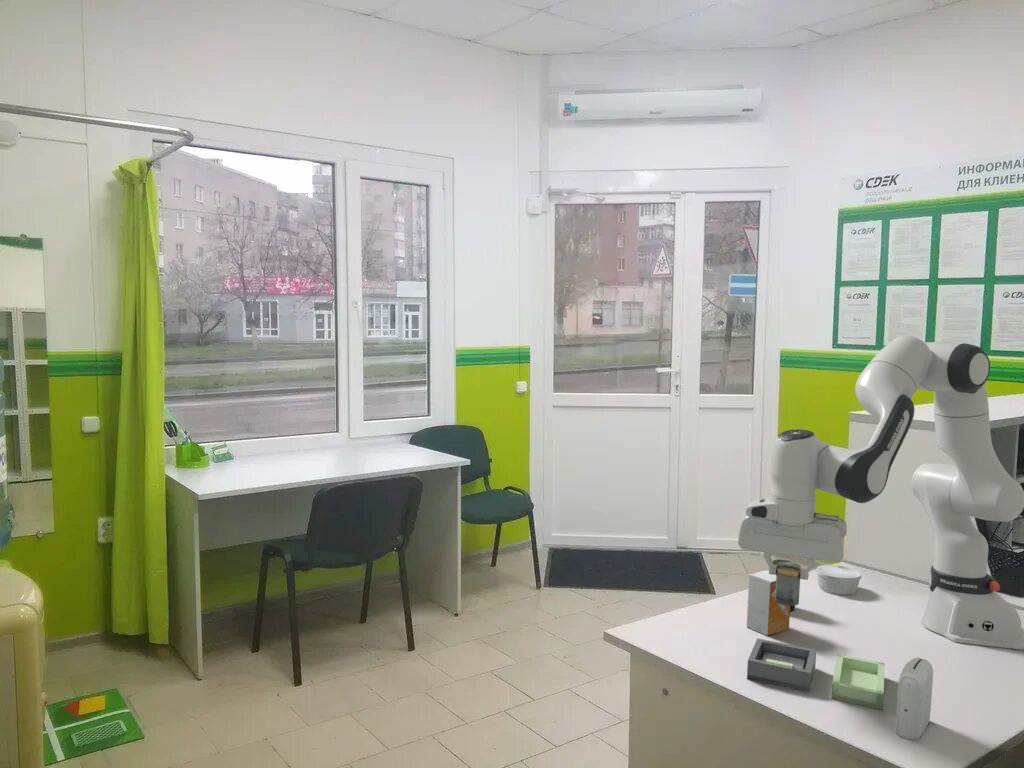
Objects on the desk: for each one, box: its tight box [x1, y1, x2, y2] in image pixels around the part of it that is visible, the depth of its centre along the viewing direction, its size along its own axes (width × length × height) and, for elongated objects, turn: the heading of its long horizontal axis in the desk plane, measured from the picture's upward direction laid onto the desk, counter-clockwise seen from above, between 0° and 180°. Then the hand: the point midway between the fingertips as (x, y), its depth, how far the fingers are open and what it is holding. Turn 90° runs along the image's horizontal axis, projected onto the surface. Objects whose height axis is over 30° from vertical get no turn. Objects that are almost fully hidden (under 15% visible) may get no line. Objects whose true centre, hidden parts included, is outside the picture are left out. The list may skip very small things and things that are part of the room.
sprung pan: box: [762, 652, 805, 669], centre depth 161 cm, size 8×8×1 cm
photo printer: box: [895, 657, 934, 741], centre depth 141 cm, size 10×4×12 cm, turn 140°
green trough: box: [831, 653, 886, 711], centre depth 156 cm, size 9×15×3 cm, turn 154°
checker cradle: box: [746, 638, 817, 694], centre depth 161 cm, size 12×12×5 cm
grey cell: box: [775, 561, 802, 606], centre depth 160 cm, size 5×5×8 cm
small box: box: [746, 569, 791, 637], centre depth 184 cm, size 8×6×13 cm
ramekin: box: [815, 564, 862, 596], centre depth 212 cm, size 11×11×5 cm
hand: (788, 576), depth 159 cm, fingers closed on grey cell, 5 cm apart
